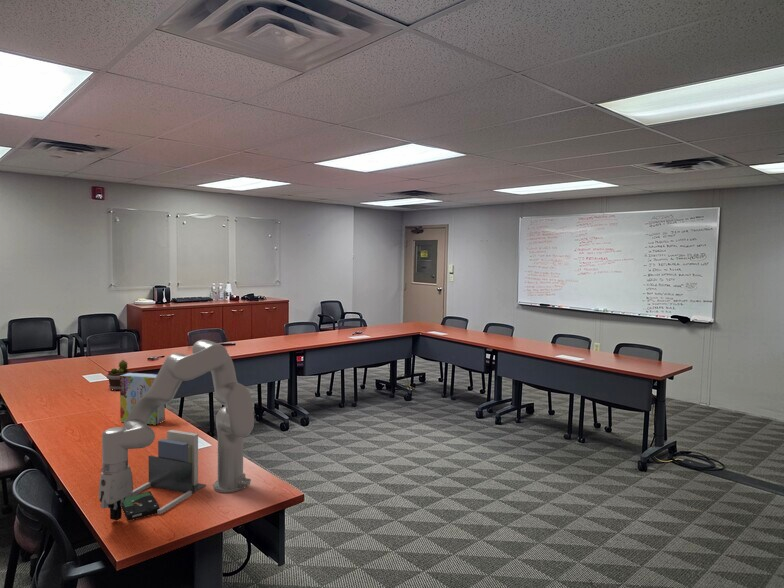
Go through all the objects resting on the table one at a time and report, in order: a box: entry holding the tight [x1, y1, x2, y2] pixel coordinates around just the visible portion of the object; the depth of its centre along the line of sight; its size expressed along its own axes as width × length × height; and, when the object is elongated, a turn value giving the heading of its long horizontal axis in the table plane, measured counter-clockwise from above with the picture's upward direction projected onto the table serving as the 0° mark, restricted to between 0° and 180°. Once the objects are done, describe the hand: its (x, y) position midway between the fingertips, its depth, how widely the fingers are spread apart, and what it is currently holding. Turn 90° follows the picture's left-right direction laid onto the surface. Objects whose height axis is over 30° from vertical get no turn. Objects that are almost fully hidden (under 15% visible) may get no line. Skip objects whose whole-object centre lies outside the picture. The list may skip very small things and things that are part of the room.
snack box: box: [119, 372, 166, 426], centre depth 271 cm, size 22×9×26 cm, turn 80°
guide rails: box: [127, 481, 193, 515], centre depth 186 cm, size 21×16×2 cm
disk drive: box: [121, 490, 161, 521], centre depth 179 cm, size 10×3×15 cm
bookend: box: [148, 455, 207, 495], centre depth 197 cm, size 20×8×12 cm, turn 72°
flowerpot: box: [106, 358, 132, 391], centre depth 335 cm, size 14×15×20 cm
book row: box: [157, 429, 199, 486], centre depth 197 cm, size 13×7×20 cm, turn 72°
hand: (115, 518), depth 170 cm, fingers closed
